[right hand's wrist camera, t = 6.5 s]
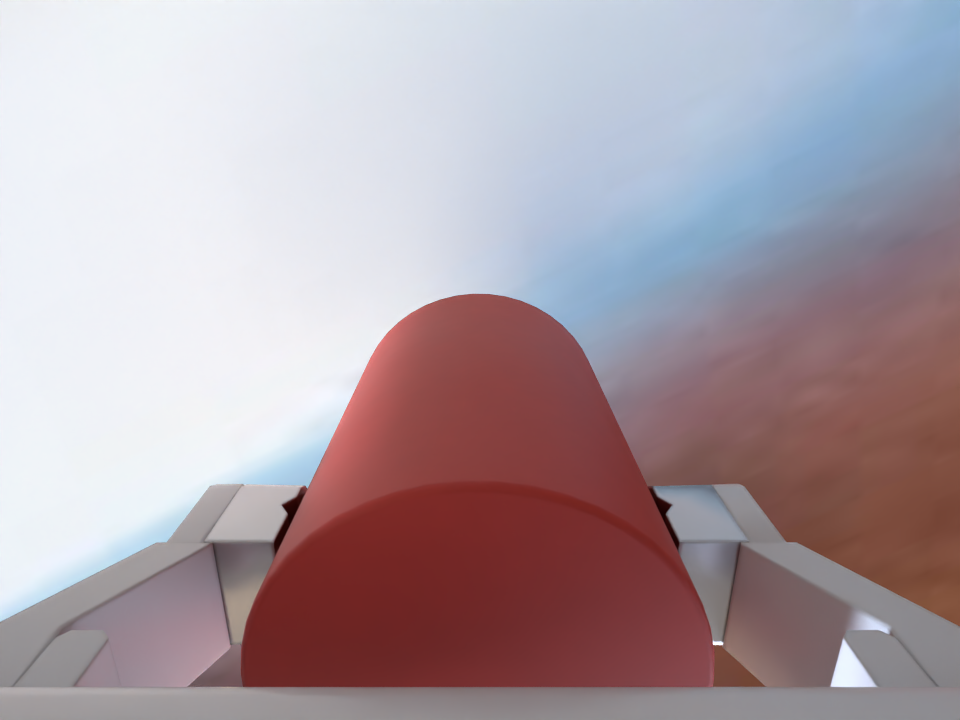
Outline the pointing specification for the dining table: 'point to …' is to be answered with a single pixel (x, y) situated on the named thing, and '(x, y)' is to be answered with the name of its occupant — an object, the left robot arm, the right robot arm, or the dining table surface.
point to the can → (477, 527)
